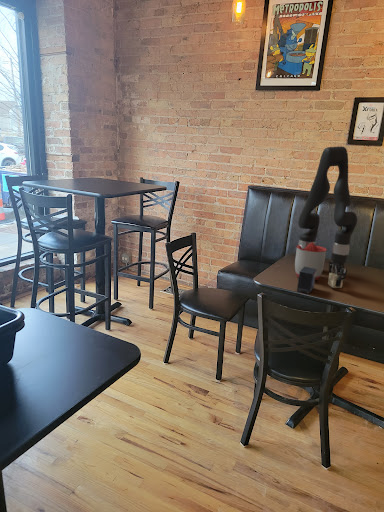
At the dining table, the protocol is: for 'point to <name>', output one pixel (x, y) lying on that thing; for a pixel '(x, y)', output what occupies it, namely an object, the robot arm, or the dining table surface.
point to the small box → (306, 280)
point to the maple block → (333, 280)
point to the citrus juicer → (310, 258)
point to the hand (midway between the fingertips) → (334, 284)
